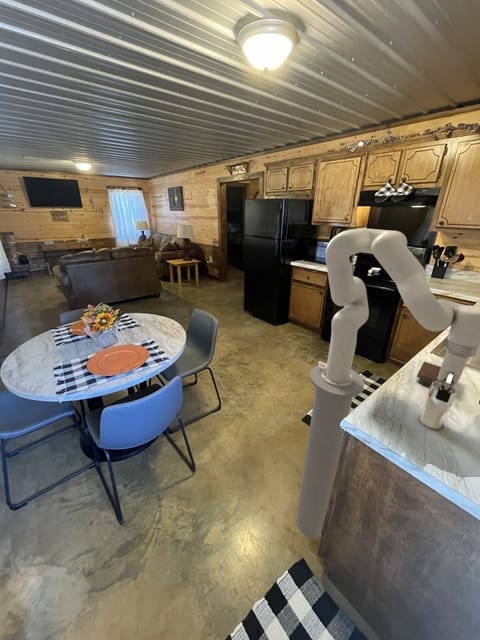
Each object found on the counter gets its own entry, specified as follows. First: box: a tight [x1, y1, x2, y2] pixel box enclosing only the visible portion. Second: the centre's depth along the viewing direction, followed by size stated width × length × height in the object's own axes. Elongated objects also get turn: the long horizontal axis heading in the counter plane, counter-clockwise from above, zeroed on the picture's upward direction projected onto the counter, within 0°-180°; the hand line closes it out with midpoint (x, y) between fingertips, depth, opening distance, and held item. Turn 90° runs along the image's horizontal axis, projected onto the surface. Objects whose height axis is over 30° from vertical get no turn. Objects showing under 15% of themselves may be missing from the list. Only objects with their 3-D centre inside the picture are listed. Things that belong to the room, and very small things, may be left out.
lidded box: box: [416, 361, 455, 388], centre depth 110 cm, size 12×13×4 cm
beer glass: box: [419, 381, 458, 430], centre depth 88 cm, size 7×7×15 cm
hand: (443, 392), depth 85 cm, fingers open, 9 cm apart
